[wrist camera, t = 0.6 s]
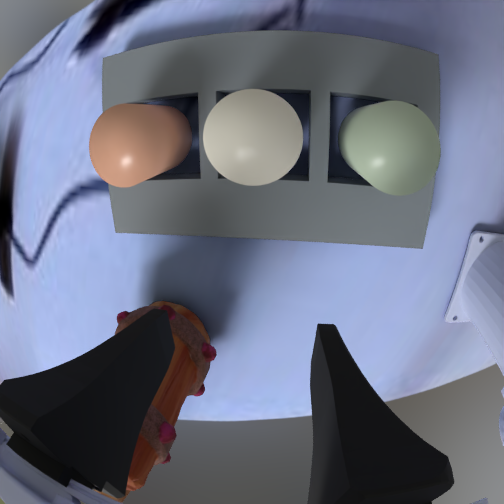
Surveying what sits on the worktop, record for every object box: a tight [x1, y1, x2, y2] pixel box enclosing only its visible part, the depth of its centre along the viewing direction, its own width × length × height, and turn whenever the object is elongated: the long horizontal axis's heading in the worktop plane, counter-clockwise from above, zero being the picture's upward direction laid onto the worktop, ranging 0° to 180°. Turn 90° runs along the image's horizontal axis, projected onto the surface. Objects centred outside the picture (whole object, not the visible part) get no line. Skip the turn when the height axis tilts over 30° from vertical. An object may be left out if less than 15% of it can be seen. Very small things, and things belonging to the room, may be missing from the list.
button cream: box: [203, 89, 303, 186], centre depth 13 cm, size 4×4×4 cm
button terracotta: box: [89, 103, 192, 187], centre depth 13 cm, size 4×4×4 cm
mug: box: [94, 301, 216, 503], centre depth 18 cm, size 15×8×15 cm, turn 165°
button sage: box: [338, 100, 440, 196], centre depth 12 cm, size 4×4×4 cm
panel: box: [102, 30, 440, 249], centre depth 15 cm, size 20×12×2 cm, turn 91°
